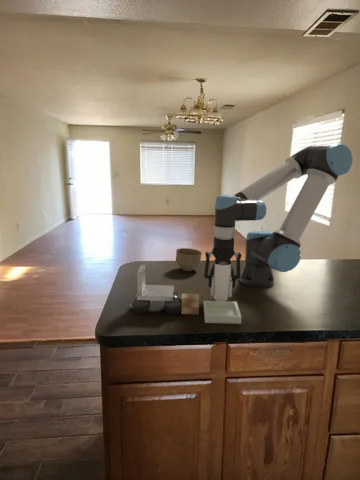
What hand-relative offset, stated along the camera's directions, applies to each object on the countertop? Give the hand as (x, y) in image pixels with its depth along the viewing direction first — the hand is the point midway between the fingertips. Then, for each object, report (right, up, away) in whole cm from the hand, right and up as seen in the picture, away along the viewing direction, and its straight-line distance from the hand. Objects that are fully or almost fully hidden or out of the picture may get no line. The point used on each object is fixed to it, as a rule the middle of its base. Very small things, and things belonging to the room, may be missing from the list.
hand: (221, 294), depth 122 cm
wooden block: (-12, -4, -10) cm, 16 cm away
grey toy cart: (-24, -4, -9) cm, 26 cm away
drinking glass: (0, -2, +1) cm, 2 cm away
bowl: (-12, +6, +34) cm, 36 cm away
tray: (-2, -5, -12) cm, 13 cm away
